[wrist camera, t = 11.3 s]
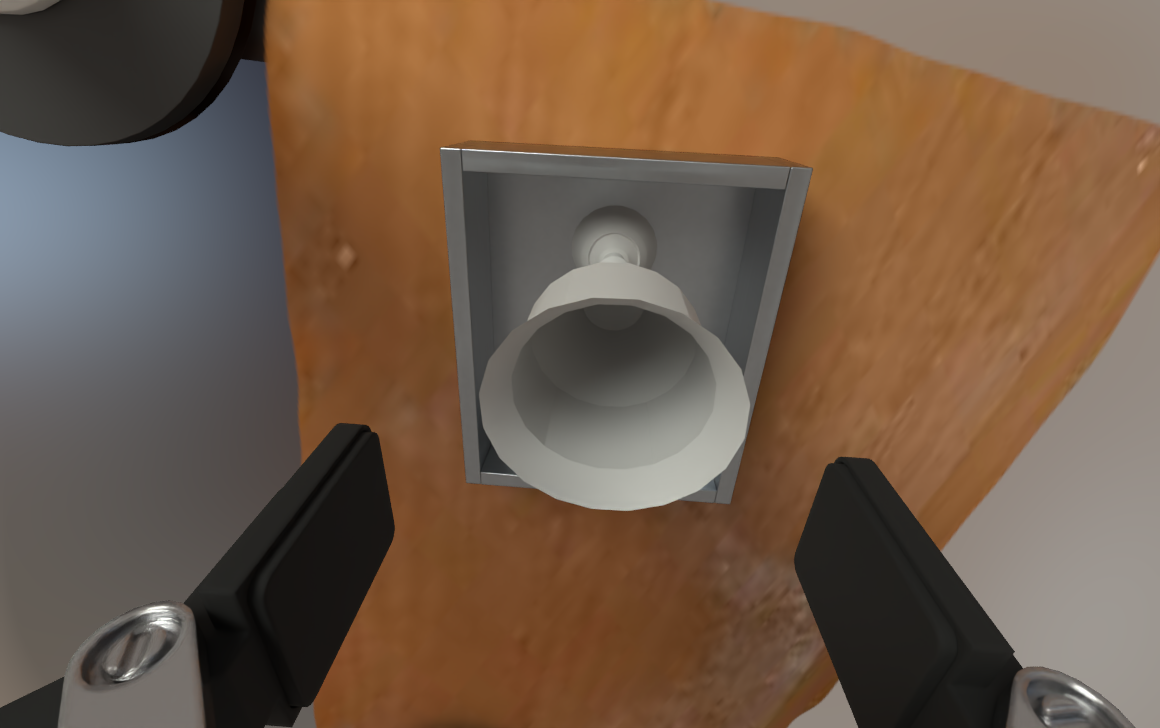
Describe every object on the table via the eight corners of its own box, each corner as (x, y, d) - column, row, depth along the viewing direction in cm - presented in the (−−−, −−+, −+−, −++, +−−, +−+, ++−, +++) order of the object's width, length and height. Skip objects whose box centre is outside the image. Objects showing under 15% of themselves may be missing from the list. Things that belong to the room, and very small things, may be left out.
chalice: (689, 201, 28) (788, 325, 12) (661, 312, 31) (710, 528, 15) (561, 178, 28) (487, 273, 12) (546, 292, 31) (472, 488, 15)
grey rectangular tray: (485, 435, 37) (465, 483, 32) (469, 140, 27) (439, 147, 23) (715, 453, 36) (730, 504, 31) (779, 157, 27) (813, 168, 22)
